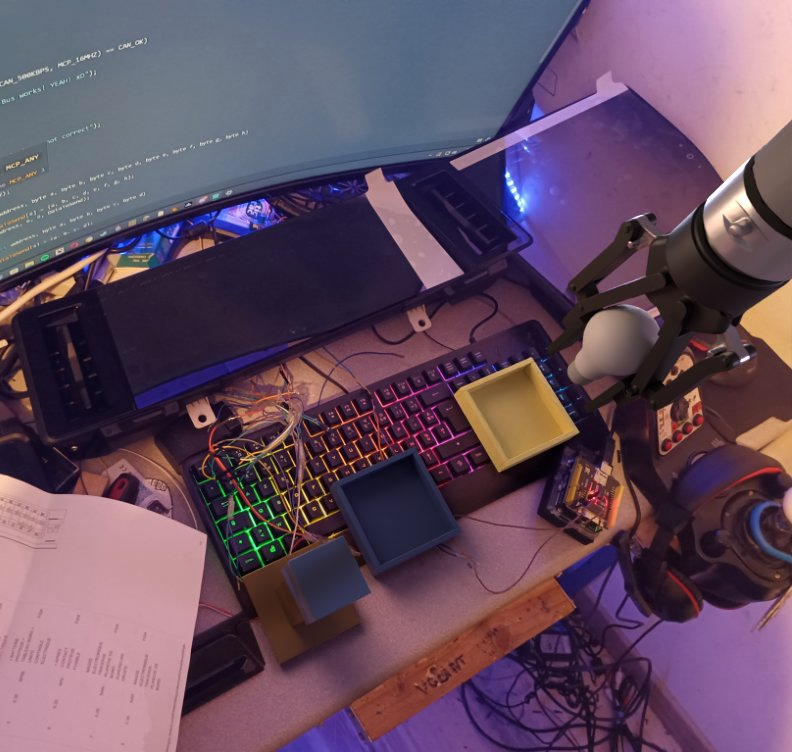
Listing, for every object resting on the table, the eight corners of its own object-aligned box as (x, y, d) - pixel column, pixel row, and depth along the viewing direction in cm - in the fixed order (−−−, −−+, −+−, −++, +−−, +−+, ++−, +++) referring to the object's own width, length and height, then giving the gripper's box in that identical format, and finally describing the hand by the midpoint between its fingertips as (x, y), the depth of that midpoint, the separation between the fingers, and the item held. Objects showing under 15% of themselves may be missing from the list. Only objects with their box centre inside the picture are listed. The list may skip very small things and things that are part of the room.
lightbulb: (544, 399, 67) (606, 348, 57) (546, 342, 70) (605, 283, 60) (606, 412, 67) (679, 364, 57) (606, 355, 70) (675, 300, 60)
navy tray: (453, 536, 77) (462, 532, 75) (372, 577, 74) (378, 573, 72) (408, 453, 80) (414, 446, 78) (328, 489, 78) (332, 483, 75)
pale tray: (568, 439, 84) (579, 432, 81) (497, 473, 81) (507, 467, 78) (522, 365, 87) (531, 356, 85) (452, 396, 84) (460, 387, 82)
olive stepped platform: (358, 623, 72) (389, 611, 61) (278, 664, 70) (295, 660, 59) (319, 541, 75) (341, 516, 64) (241, 578, 73) (250, 558, 62)
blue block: (358, 599, 62) (371, 592, 57) (306, 625, 60) (316, 620, 56) (332, 546, 63) (343, 535, 59) (281, 570, 62) (288, 560, 57)
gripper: (625, 145, 49) (494, 307, 70) (803, 378, 43) (602, 479, 64) (705, 117, 51) (554, 283, 72) (885, 336, 45) (664, 447, 67)
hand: (577, 375), depth 68 cm, fingers closed on lightbulb, 6 cm apart
